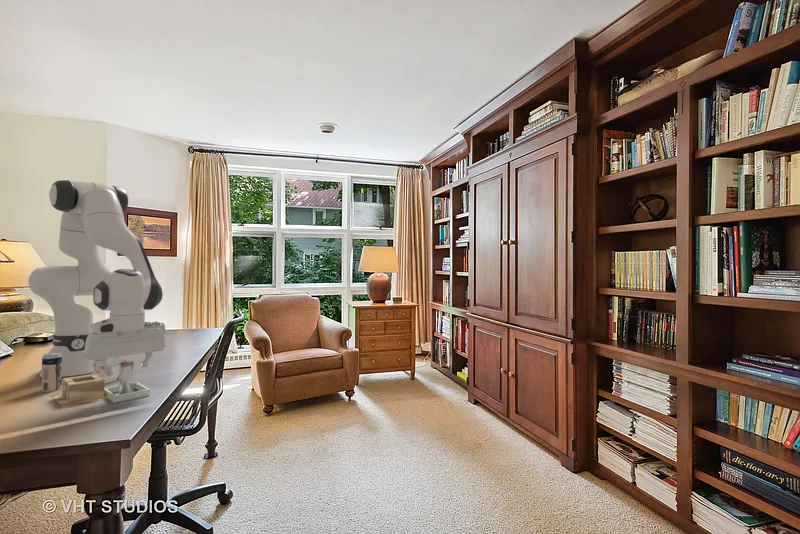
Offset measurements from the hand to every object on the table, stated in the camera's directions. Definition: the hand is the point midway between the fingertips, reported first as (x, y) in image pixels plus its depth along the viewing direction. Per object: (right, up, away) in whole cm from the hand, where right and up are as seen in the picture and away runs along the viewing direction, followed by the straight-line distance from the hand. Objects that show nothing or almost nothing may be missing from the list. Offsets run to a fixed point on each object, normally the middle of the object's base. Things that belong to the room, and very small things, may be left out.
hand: (126, 369), depth 124 cm
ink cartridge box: (-16, -8, +15) cm, 24 cm away
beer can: (-26, -8, +4) cm, 27 cm away
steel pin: (0, -8, 0) cm, 8 cm away
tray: (0, -8, 0) cm, 8 cm away
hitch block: (-11, -8, -2) cm, 14 cm away
